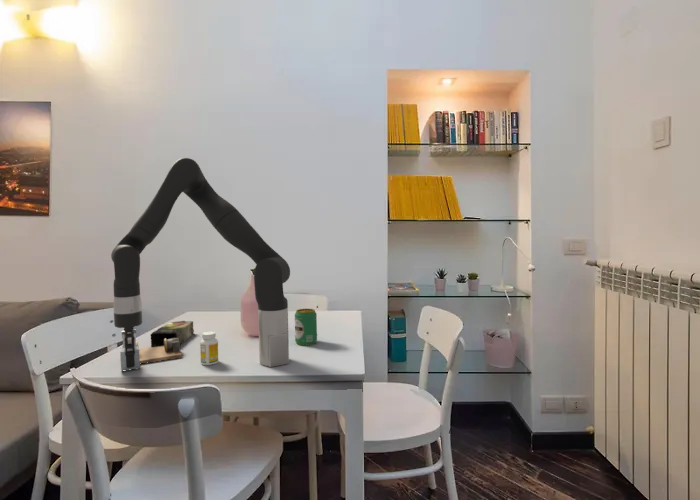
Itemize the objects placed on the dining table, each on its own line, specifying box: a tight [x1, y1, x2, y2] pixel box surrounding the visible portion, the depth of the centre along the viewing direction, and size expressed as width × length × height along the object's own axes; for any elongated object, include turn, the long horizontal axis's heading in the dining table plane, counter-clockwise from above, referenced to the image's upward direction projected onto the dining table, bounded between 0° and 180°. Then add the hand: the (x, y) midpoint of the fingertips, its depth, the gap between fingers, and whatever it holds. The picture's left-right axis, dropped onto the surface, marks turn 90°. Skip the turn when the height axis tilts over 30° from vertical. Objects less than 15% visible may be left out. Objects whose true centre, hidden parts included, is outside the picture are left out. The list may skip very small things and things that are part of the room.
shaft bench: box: [136, 337, 183, 364], centre depth 137 cm, size 17×14×5 cm
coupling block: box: [119, 345, 141, 372], centre depth 126 cm, size 5×5×6 cm
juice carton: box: [150, 320, 195, 347], centre depth 157 cm, size 20×10×6 cm, turn 4°
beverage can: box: [294, 308, 318, 346], centre depth 150 cm, size 8×8×12 cm
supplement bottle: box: [199, 331, 219, 366], centre depth 130 cm, size 5×5×10 cm
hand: (130, 364), depth 126 cm, fingers closed on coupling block, 4 cm apart
